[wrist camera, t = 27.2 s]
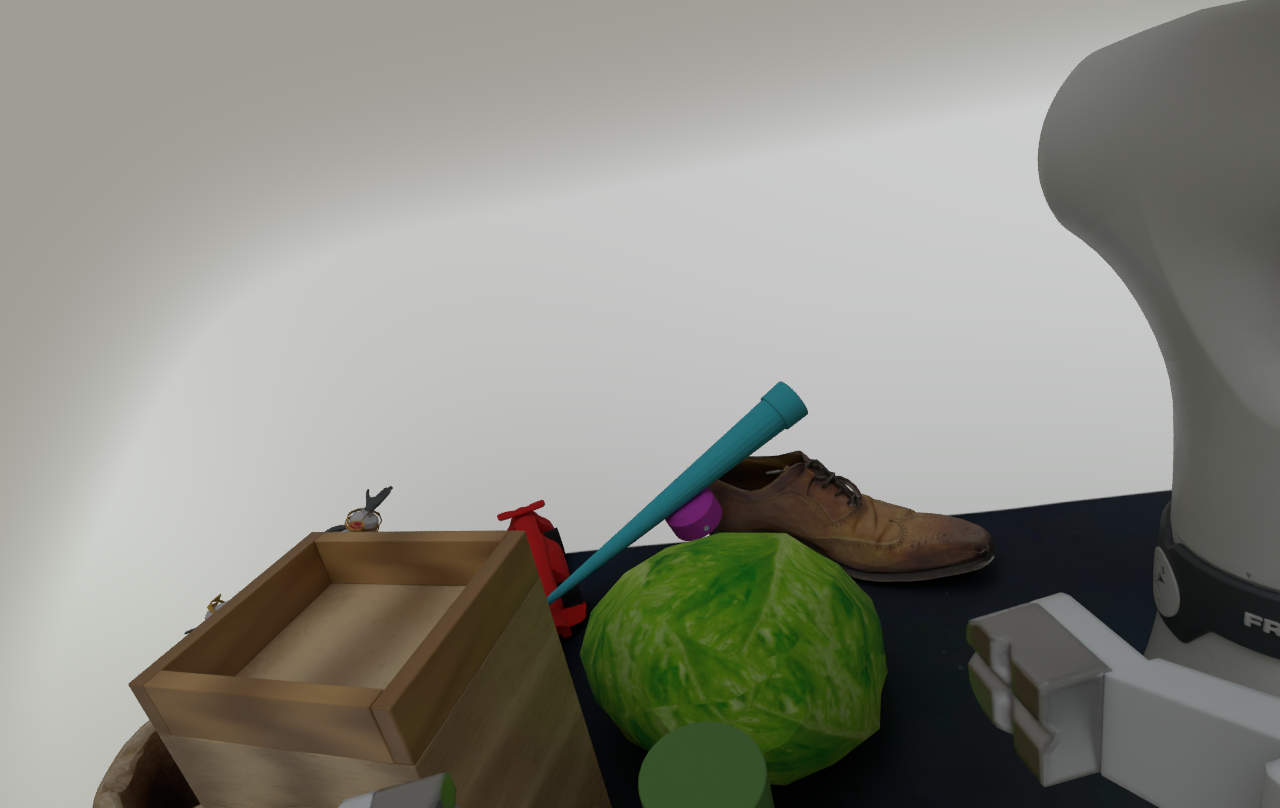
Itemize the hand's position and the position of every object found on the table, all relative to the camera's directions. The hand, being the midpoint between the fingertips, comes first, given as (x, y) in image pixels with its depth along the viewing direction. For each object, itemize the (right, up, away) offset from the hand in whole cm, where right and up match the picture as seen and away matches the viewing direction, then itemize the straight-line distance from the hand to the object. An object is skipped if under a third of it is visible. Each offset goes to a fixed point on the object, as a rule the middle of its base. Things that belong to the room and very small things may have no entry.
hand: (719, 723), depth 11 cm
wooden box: (-8, -25, +27) cm, 38 cm away
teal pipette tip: (-11, -13, +51) cm, 54 cm away
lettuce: (+6, -18, +38) cm, 42 cm away
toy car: (-10, -13, +59) cm, 61 cm away
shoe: (+17, -9, +55) cm, 58 cm away
